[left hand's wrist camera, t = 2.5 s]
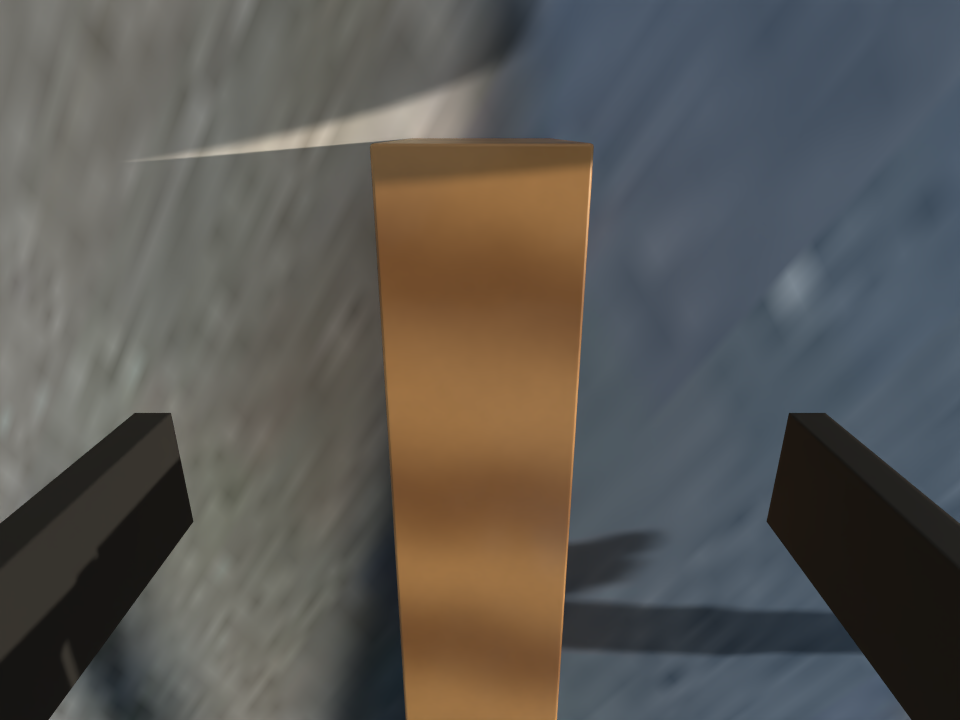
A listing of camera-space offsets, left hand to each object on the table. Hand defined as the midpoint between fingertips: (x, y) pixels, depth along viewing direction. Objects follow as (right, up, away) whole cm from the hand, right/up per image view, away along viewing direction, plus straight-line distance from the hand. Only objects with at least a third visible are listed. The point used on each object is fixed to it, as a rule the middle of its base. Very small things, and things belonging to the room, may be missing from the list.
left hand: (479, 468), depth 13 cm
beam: (0, -22, +21) cm, 31 cm away
